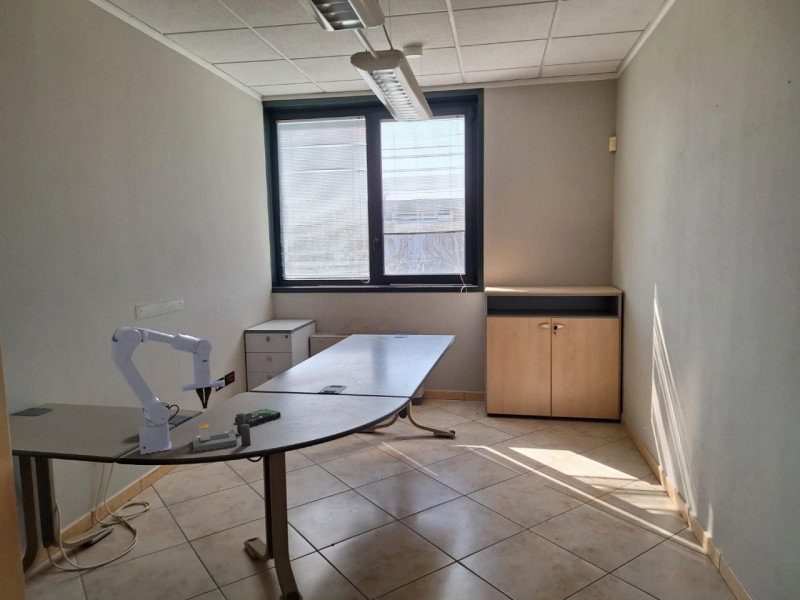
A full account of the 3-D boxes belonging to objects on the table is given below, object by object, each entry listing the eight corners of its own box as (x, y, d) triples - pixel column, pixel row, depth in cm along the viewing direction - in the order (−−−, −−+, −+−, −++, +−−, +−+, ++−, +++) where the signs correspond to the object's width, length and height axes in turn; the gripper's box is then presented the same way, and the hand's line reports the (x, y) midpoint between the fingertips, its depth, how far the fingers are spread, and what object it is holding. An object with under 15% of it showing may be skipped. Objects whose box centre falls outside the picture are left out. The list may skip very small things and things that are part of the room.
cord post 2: (242, 447, 184) (240, 427, 184) (241, 444, 187) (239, 424, 186) (251, 445, 186) (249, 425, 185) (250, 442, 188) (248, 423, 188)
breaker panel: (193, 452, 181) (193, 446, 180) (192, 441, 192) (192, 435, 192) (237, 445, 186) (236, 439, 186) (233, 434, 197) (233, 429, 197)
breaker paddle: (200, 440, 185) (199, 428, 185) (200, 437, 189) (199, 425, 188) (209, 439, 186) (208, 427, 186) (209, 435, 190) (208, 423, 190)
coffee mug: (144, 435, 200) (142, 409, 199) (148, 428, 208) (146, 403, 207) (178, 431, 203) (176, 405, 202) (180, 424, 211) (178, 400, 210)
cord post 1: (237, 434, 197) (236, 416, 197) (236, 432, 200) (235, 413, 199) (246, 433, 198) (245, 414, 198) (245, 431, 201) (244, 412, 200)
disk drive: (250, 429, 205) (281, 418, 216) (249, 422, 205) (281, 411, 216) (234, 424, 212) (265, 414, 223) (234, 417, 211) (265, 407, 223)
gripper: (181, 376, 189) (183, 413, 190) (224, 371, 194) (226, 407, 195) (180, 372, 195) (183, 408, 196) (222, 367, 201) (225, 403, 202)
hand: (204, 408), depth 196 cm, fingers closed
